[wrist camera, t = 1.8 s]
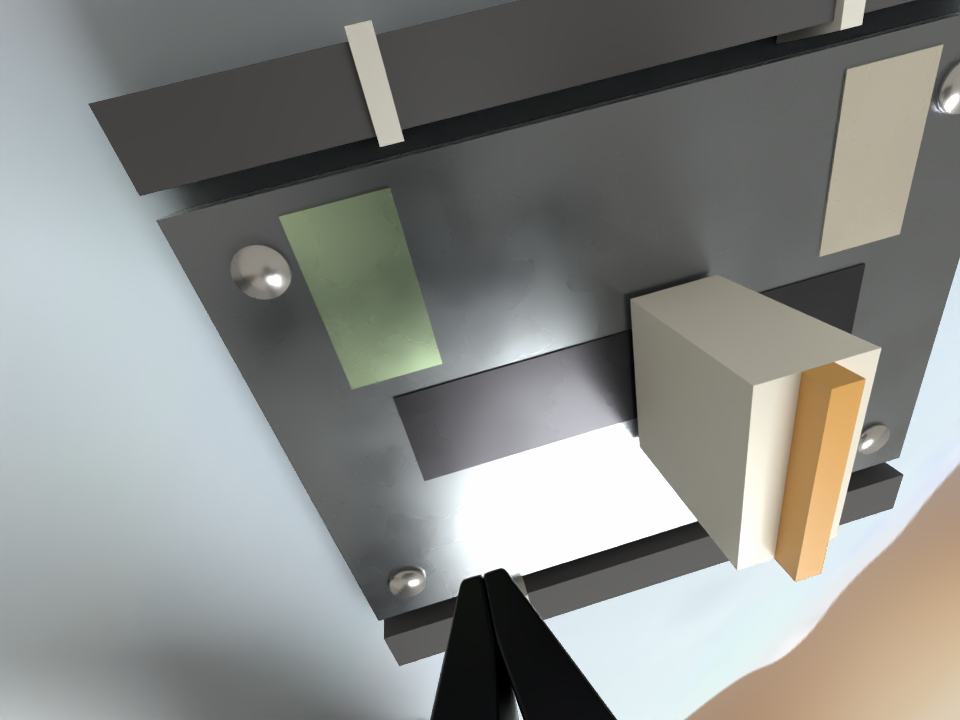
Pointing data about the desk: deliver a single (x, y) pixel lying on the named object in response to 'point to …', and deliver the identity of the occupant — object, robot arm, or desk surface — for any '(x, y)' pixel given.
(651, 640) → the desk surface
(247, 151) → the cord bundle outer
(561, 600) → the cord bundle inner
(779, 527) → the lever
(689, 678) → the desk surface
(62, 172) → the desk surface
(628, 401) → the breaker panel
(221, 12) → the desk surface
